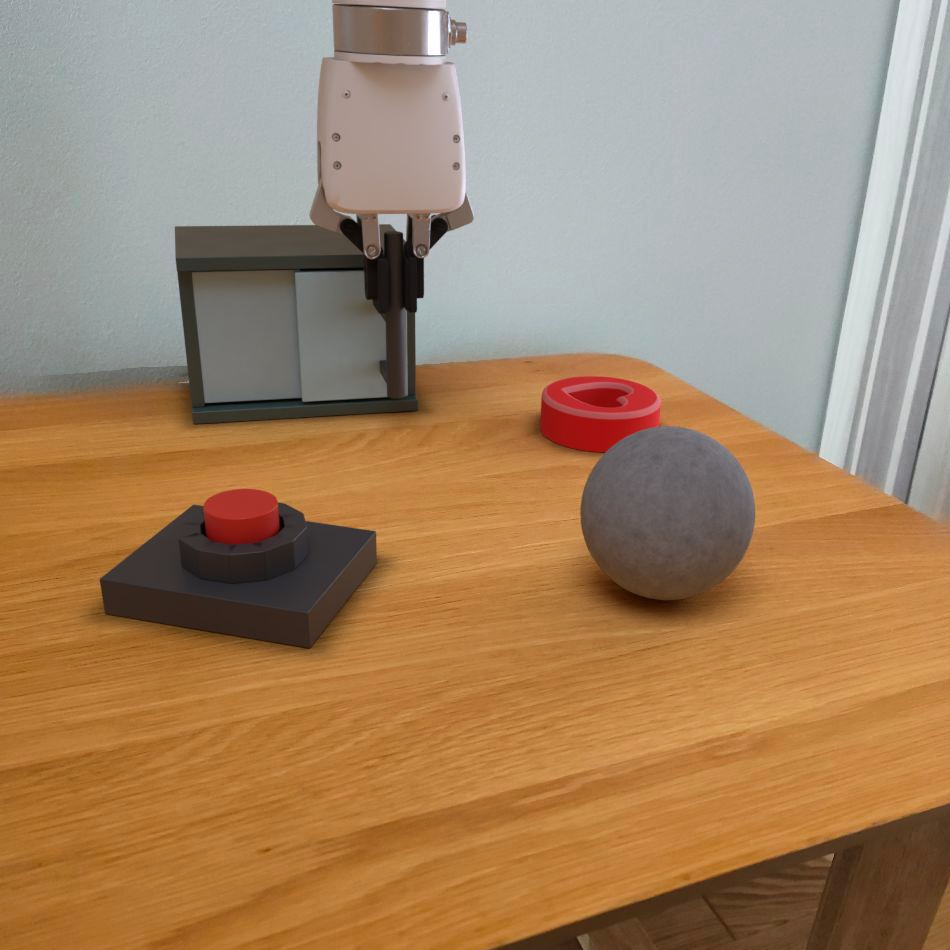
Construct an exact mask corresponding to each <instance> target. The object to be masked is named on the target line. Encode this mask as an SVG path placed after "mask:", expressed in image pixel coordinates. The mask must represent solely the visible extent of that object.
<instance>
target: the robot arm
mask: <svg viewBox="0 0 950 950" xmlns="http://www.w3.org/2000/svg"><path fill="white" fill-rule="evenodd" d="M331 4H332V5H331V9H332V10H331V11H332V32H333V33H332V35H333V56H325V57H322V58H321V64H320V72H319V79H318V90H317V107H316V109H317V110H316V117H317V118H316V171H317V172H316V173H317V187H316V191H315V195H314V198H313V200H312V204H311V208H310V209H309V216H308V217H309V219H310V221H311V222H312V224H313V225H317V226H320V227H323V228H326V229H329V230H331V231H334V232H338V233H341V234H344V235H345V236H346V237H347V238H348V239H349V240H350V241H351V242H352V243H353V244H354V245H355V246H356V247H357V248H358V249H359V250H360V251H361V252H362V253H363V254H364V285H365V297H366V299H367V300H373V305H374V307H375V308H376V310H377V311H378V313H379V314H386V312H389V290H388V261H387V259H386V258H385V257H384V255H383V249H382V247H381V246H380V233H379V224H380V220H379V219H380V218H379V215H406V228H405V229H406V230H405V231H406V233H405V241H406V243H405V244H404V250H403V263H404V308H405V309H406V311H409V313H415V314H416V313H417V312H418V299H424V297H425V258H426V257H428V256H429V253H430V250H431V249H433V247H434V246H436V244H437V243H438V242H439V241H440V240H441V239H442V238H443V237H444V236H445V235H446V233H448V232H451V231H454V230H457V229H460V228H462V227H464V226H467V225H470V224H472V223H473V221H474V219H475V214H474V211H473V208H472V205H471V202H470V198H469V196H468V192H467V190H466V188H467V165H466V164H467V163H466V147H465V146H466V145H465V131H464V120H463V108H462V100H461V94H460V84H459V79H458V74H457V69H456V64H455V63H454V62H451V61H447V55H448V54H449V49H451V46H456V44H463V45H465V44H466V43H467V41H468V40H467V39H468V25H467V22H462V21H456V20H455V19H451V16H449V15H450V14H449V13H450V12H449V11H446V10H445V9H447V0H331ZM345 214H346V215H345ZM347 214H350V215H355V217H356V219H354V218H353V217H351V216H350V215H347ZM431 214H432V215H431Z"/></svg>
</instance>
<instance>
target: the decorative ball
mask: <svg viewBox="0 0 950 950" xmlns="http://www.w3.org/2000/svg"><path fill="white" fill-rule="evenodd" d="M580 500H581V501H580V507H579V508H580V510H579V511H580V513H579V514H580V527H581V532H582V536H583V539H584V542H585V545H586V549H588V552H589V554H590V556H591V557H592V559H593V560H594V562H595V563H596V565H597V566H598V567H599V569H600V570H601V571H602V572H603V574H605V575H606V576H607V578H609V579H610V580H611V581H612V582H613V583H614V584H617V585H618V586H619V587H621V588H622V589H624V590H626V591H628V592H630V593H632V594H635V595H637V596H640V597H644V598H647V599H651V600H658V601H678V600H683V599H689V598H692V597H696V596H699V595H701V594H703V593H706V592H707V591H709V590H711V589H714V588H715V587H717V585H719V584H721V583H722V582H723V581H724V580H726V579H727V578H728V577H729V576H730V575H731V574H732V573H733V572H734V571H735V570H736V568H737V567H738V566H739V565H740V564H741V562H742V561H743V558H744V557H745V555H746V554H747V551H748V549H749V547H750V544H751V541H752V539H753V535H754V529H755V524H756V502H755V501H756V500H755V495H754V490H753V487H752V484H751V481H750V480H749V477H748V475H747V473H746V471H745V469H744V467H743V466H742V465H741V463H740V462H739V460H738V458H736V457H735V455H734V454H733V453H731V451H730V450H729V449H728V448H727V447H726V446H724V445H723V444H722V443H720V442H719V441H717V440H715V439H714V438H713V437H711V436H709V435H707V434H705V433H703V432H700V431H698V430H695V429H692V428H687V427H683V426H676V425H674V426H673V425H662V426H659V427H653V428H648V429H644V430H641V431H638V432H635V433H633V434H631V435H629V436H627V437H625V438H623V439H622V440H620V441H619V442H617V443H616V444H615V445H613V446H612V447H611V448H610V449H609V450H608V451H606V452H603V454H602V455H601V457H599V459H598V461H597V462H596V463H595V465H593V468H592V470H590V473H589V474H588V477H587V479H586V481H585V484H584V487H583V490H582V494H581V499H580Z"/></svg>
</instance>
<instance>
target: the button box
mask: <svg viewBox="0 0 950 950" xmlns="http://www.w3.org/2000/svg"><path fill="white" fill-rule="evenodd" d="M278 511H279V525H280V530H279V533H278V534H277V535H276V536H273V537H270V538H268V539H265V540H262V541H259V542H256V543H246V544H235V545H233V544H226V543H219V542H213V541H212V540H210V539H208V537H207V535H206V528H205V518H204V509H203V505H200V504H192V505H191V506H189V507H188V508H187V509H186V510H185V511H183V512H182V513H181V514H179V515H178V516H176V518H174V519H173V520H172V521H171V522H169V523H168V524H167V525H165V526H164V527H163V528H161V529H160V530H159V531H158V532H157V533H156V534H153V536H152V537H150V538H149V539H148V540H146V541H145V542H144V543H143V544H141V545H140V546H139V547H138V548H136V549H135V550H134V551H133V552H132V553H130V554H129V555H128V556H126V557H125V558H124V559H123V560H122V561H120V562H119V563H118V564H116V565H115V566H113V568H111V569H110V570H109V571H108V572H106V573H105V574H104V575H102V576H101V577H100V578H99V584H100V585H99V586H100V591H101V598H102V604H103V609H104V610H103V611H104V614H105V615H109V616H117V617H123V618H127V619H128V618H130V619H135V620H141V621H146V622H152V623H158V624H163V625H164V624H165V625H171V626H174V627H175V626H176V627H181V628H188V629H195V630H198V631H199V630H200V631H206V632H211V633H218V634H223V635H229V636H235V637H239V638H240V637H241V638H246V639H247V638H248V639H254V640H259V641H264V642H265V641H266V642H271V643H276V644H283V645H289V646H294V647H300V648H307V649H311V648H312V646H313V645H314V644H315V642H316V641H318V639H319V637H320V636H321V635H322V633H323V632H324V631H325V630H326V629H327V627H328V626H329V624H330V623H331V622H332V621H333V619H335V617H336V615H337V614H339V612H340V611H341V609H342V608H343V607H344V606H345V604H347V602H348V601H349V599H350V598H351V597H352V595H353V594H354V593H355V591H357V589H358V588H359V587H360V586H361V584H362V583H363V581H364V580H365V579H366V578H367V576H368V575H369V574H370V573H371V571H372V570H373V568H375V566H376V565H377V564H378V552H377V551H378V549H377V548H378V547H377V531H376V530H370V529H363V528H357V527H351V526H343V525H336V524H329V523H322V522H316V521H309V520H306V518H305V514H304V513H303V512H302V511H300V510H298V509H296V508H294V507H293V506H291V505H288V504H287V503H284V502H279V501H278Z"/></svg>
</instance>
